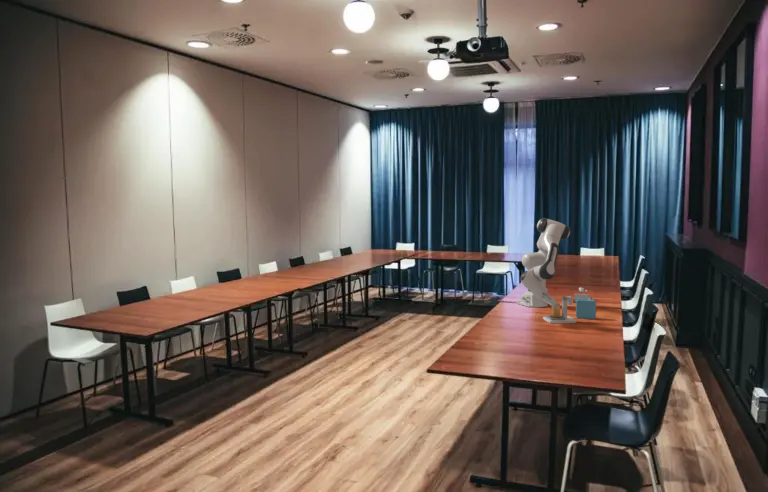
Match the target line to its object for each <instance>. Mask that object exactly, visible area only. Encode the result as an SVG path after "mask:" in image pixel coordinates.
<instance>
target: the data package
mask: <svg viewBox="0 0 768 492" xmlns="http://www.w3.org/2000/svg"><path fill="white" fill-rule="evenodd" d="M575 316H576V318H577V319H587V320H588V319H589V320H595V319H596V316H597V301H596V300H595V299H592V300H589V299H577V300H576V302H575Z"/></svg>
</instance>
